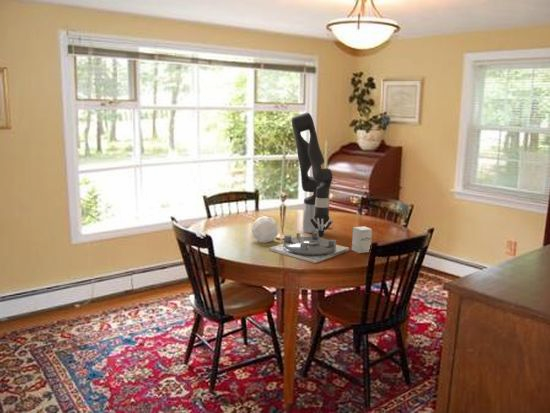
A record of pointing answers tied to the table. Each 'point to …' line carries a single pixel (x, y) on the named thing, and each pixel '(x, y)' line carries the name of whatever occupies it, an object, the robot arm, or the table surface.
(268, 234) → the white ball
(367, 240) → the supplement box
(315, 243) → the grey flat round piece
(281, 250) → the base plate
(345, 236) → the table surface
